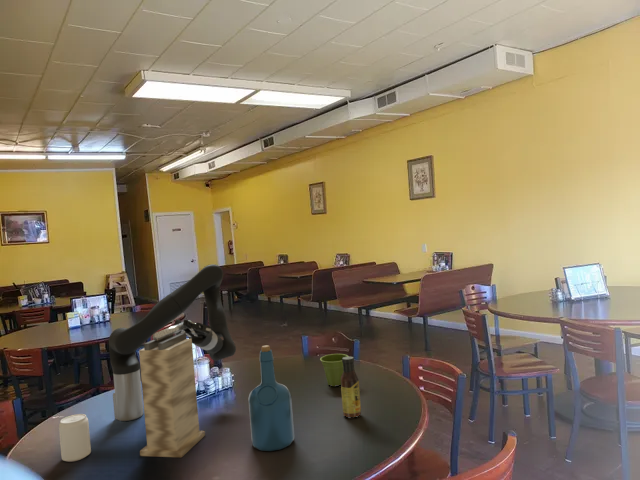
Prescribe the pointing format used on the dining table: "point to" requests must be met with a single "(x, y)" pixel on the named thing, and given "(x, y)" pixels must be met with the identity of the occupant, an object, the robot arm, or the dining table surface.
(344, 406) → the sauce bottle
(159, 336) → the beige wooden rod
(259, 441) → the wine bottle
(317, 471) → the dining table surface
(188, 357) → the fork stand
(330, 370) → the plant pot
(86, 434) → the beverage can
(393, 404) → the dining table surface
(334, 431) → the dining table surface
